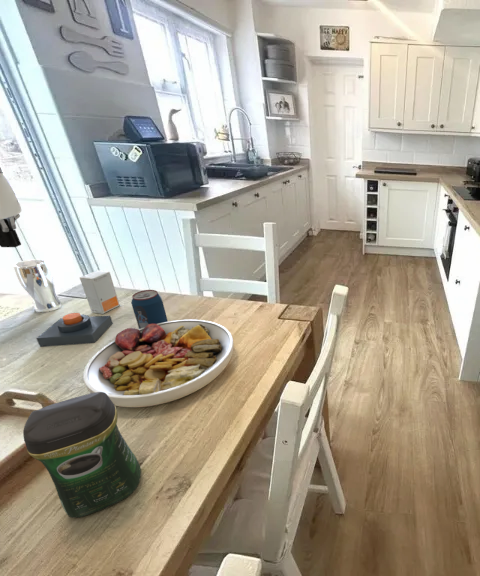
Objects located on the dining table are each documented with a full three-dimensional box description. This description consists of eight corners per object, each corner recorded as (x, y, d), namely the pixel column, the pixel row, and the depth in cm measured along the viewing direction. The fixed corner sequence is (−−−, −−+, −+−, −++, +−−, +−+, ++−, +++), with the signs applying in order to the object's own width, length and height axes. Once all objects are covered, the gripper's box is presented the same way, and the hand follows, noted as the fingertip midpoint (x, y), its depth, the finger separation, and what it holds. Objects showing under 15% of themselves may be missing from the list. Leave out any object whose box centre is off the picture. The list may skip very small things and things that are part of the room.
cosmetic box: (103, 314, 99) (91, 279, 94) (91, 312, 100) (78, 277, 95) (121, 305, 105) (110, 271, 100) (109, 303, 105) (97, 269, 100)
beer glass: (65, 300, 105) (47, 257, 98) (63, 309, 100) (44, 264, 94) (34, 305, 101) (14, 261, 94) (31, 315, 96) (9, 269, 90)
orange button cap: (61, 325, 86) (59, 319, 85) (69, 318, 89) (67, 313, 88) (77, 324, 87) (75, 319, 86) (85, 318, 90) (83, 312, 89)
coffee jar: (142, 458, 59) (112, 378, 51) (142, 495, 53) (107, 413, 45) (71, 484, 54) (25, 401, 46) (62, 529, 48) (7, 443, 40)
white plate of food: (259, 348, 89) (256, 324, 86) (162, 433, 63) (152, 404, 60) (174, 325, 97) (168, 302, 93) (55, 392, 71) (41, 363, 67)
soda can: (169, 322, 98) (160, 287, 93) (169, 334, 93) (160, 297, 88) (141, 327, 94) (130, 291, 89) (140, 340, 89) (128, 302, 84)
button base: (40, 346, 84) (33, 332, 82) (63, 326, 93) (58, 312, 91) (94, 342, 87) (89, 328, 85) (112, 323, 96) (108, 310, 94)
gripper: (-16, 163, 78) (15, 237, 86) (-79, 171, 65) (-35, 256, 73) (22, 165, 80) (49, 237, 88) (-31, 173, 67) (7, 256, 75)
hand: (11, 246), depth 80 cm, fingers closed
